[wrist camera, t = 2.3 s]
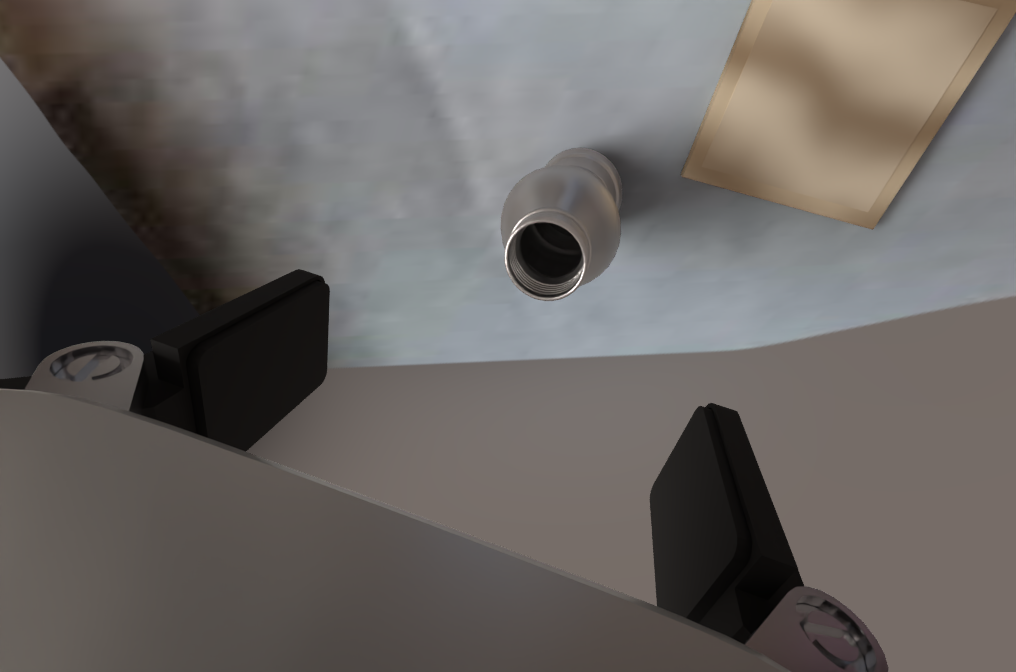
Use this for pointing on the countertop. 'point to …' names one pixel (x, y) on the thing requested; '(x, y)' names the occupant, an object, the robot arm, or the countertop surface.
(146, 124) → the countertop surface
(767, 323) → the countertop surface
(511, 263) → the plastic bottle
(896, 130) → the oak board
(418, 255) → the countertop surface
